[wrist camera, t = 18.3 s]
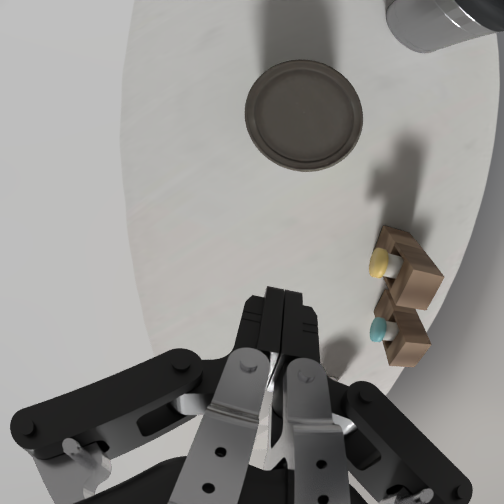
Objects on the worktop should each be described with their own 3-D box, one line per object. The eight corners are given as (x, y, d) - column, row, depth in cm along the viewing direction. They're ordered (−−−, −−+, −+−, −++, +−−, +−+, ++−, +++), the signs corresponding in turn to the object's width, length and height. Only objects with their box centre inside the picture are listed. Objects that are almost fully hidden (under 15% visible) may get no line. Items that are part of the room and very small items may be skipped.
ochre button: (376, 242, 34) (384, 256, 30) (418, 253, 33) (428, 267, 30) (366, 267, 35) (373, 282, 32) (407, 276, 35) (416, 291, 32)
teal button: (377, 312, 39) (383, 328, 35) (412, 317, 38) (419, 333, 35) (368, 329, 40) (372, 346, 37) (402, 334, 40) (408, 350, 37)
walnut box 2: (384, 289, 44) (405, 342, 32) (407, 293, 43) (431, 344, 32) (373, 311, 46) (389, 365, 35) (395, 315, 46) (414, 367, 34)
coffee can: (246, 122, 35) (221, 124, 22) (292, 66, 30) (292, 38, 18) (305, 167, 36) (312, 195, 24) (352, 114, 32) (385, 113, 19)
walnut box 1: (383, 225, 38) (413, 269, 27) (409, 232, 38) (444, 276, 27) (372, 254, 41) (395, 305, 30) (397, 260, 41) (425, 310, 29)
